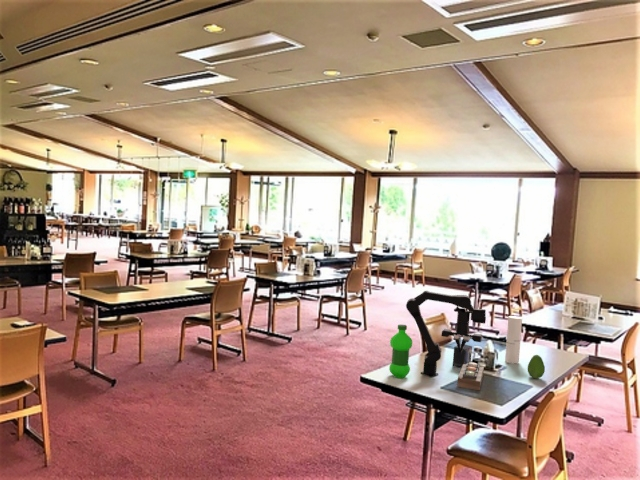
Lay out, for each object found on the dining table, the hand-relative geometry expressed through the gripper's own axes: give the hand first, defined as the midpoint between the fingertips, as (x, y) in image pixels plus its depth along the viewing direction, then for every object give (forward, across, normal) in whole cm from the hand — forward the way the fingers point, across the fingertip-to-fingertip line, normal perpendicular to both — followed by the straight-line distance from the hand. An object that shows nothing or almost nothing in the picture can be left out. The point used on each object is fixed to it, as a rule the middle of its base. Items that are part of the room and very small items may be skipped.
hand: (460, 352), depth 254 cm
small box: (+13, +2, -23) cm, 26 cm away
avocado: (+12, -35, -22) cm, 43 cm away
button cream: (+8, -6, -7) cm, 12 cm away
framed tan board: (+12, -6, +1) cm, 14 cm away
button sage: (+8, -6, +9) cm, 14 cm away
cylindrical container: (+12, -22, -47) cm, 53 cm away
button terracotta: (+8, -6, +1) cm, 10 cm away
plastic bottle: (+13, +26, +15) cm, 32 cm away
